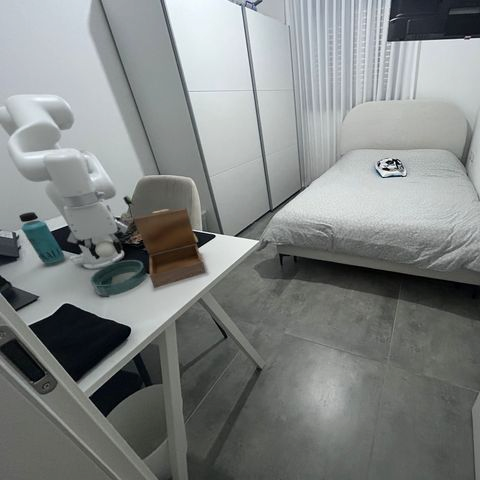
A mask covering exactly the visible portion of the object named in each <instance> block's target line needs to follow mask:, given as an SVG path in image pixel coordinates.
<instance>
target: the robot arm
mask: <svg viewBox="0 0 480 480" xmlns="http://www.w3.org/2000/svg"><path fill="white" fill-rule="evenodd" d="M73 111H74V110H73V109H72V108H71V105H70V104H69V103H68V102H67V101H66V100H65V99H64V98H63V97H61V96H59V95H58V94H57V95H56V94H51V93H50V94H49V93H47V94H43V93H42V94H39V93H38V94H34V93H33V94H27V93H26V94H23V93H22V94H13V95H11V96H8V97H7V98H6V99H5V102H4V105H3V106H0V126H1V127H2V129H3V130H4V131H5V132H6V133H7V135H8V136H9V139H8V141H7V148H6V149H7V153H8V154H9V157H10V158H11V161H12V163H13V164H14V166H15V167H16V169H17V171H18V173H20V175H21V176H22V177H23V178H24V179H25V180H28V181H30V182H35V183H38V182H46V181H49V182H47V184H45V188H44V190H45V193H46V195H47V197H48V199H49V200H50V201H51V202H52V204H53V205H54V206H55V207H56V209H57V210H58V211H59V213H60V214H61V216H62V217H63V219H64V221H65V223H66V225H67V226H68V228H69V230H70V232H69V236H68V238H67V240H66V241H67V242H68V243H73V244H77V245H78V246H79V248H80V251H81V253H80V254H75V255H70V256H69V259H70V261H71V262H73V263H74V264H76V263H80V262H82V265H83V267H84V268H86V269H90V270H95V269H102V268H104V267H106V266H108V265H111V264H114V263H117V262H120V260H122V259H123V258H124V256H125V252H124V250H123V245H122V243H121V240H120V239H122V237H123V235H125V232H126V231H127V230H128V227H127V226H126V225H124V224H122V223H120V220H117V218H116V216H115V214H114V212H113V211H112V209H111V207H110V205H109V203H107V201H106V200H111V199H113V198H115V196H116V195H117V189H116V186H115V184H114V182H113V180H112V179H111V177H110V176H109V174H108V173H107V171H106V170H105V168H104V167H103V165H102V164H101V162H100V161H99V159H98V158H97V156H95V154H94V153H92V152H91V151H89V150H85V149H80V150H78V149H76V148H72V147H66V148H62V146H61V145H60V144H59V142H60V141H61V138H62V132H61V131H66V130H70V129H71V128H72V127H73V125H74V123H75V114H74V112H73ZM118 228H119V230H118ZM102 239H111V240H113V245H114V247H115V249H116V251H115V253H114V254H113V255H112V256H110V257H101V256H99V255H97V253H96V251H95V248H96V245H97V243H98V242H99V241H100V240H102Z"/></svg>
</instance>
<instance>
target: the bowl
mask: <svg viewBox="0 0 480 480" xmlns="http://www.w3.org/2000/svg"><path fill="white" fill-rule="evenodd" d="M127 273H135V274H133V275H131V276H129V277H127V278H125V279H123V280H121V281H117V282H113V278H114V277H116V276H120V275H123V274H127ZM147 277H148V272H147V270H146V268H145V265H144V263H143V262H142V261H140V260H137V259H127V260H121V261H116V262H115V263H113V264H111V265H108V266H105V267H102V268H99V270H97V271H96V272H95V273H93V275H92V276H91V277H90V280H89V282H90V284H91V286H92V287H93V289H94V291H95V292H96V294H97V295H99V296H103V297H104V296H105V297H110V296H115V295H120V294H123V293H126V292H128V291H131V290H133V289H134V288H136V287H138V286H139V285H141V284H142V283H143V282H144V281H145V280H146V278H147Z"/></svg>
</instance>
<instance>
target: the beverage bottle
mask: <svg viewBox="0 0 480 480" xmlns="http://www.w3.org/2000/svg"><path fill="white" fill-rule="evenodd" d="M18 216H19V219H20V221H21V222H22V223H24V224H23V225H22V226H21V229H20V230H22V232H23V233H24V235H25V237H26V239H27V241H28V243H29V244H30V245H31V246H32V247H33V250H34V251H35V253H36V255H37V256H38V258H39V260H40V261H41V262H42V263H44V264H52V263H55V262H59V261H61V260H63V258H64V257H65V253H64V252H63V250H62V248H61V246H60V244H59V243H58V241H57V240H56V239H55V237H54V236H53V234H52V232H51V230H50V228H49V226H48V225H47V223H46V222H45V221H42V220H37V219H39V216H38V215H37V214H36V213H35V212H32V211H30V212H25V213H22V214H19V215H18Z"/></svg>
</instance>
